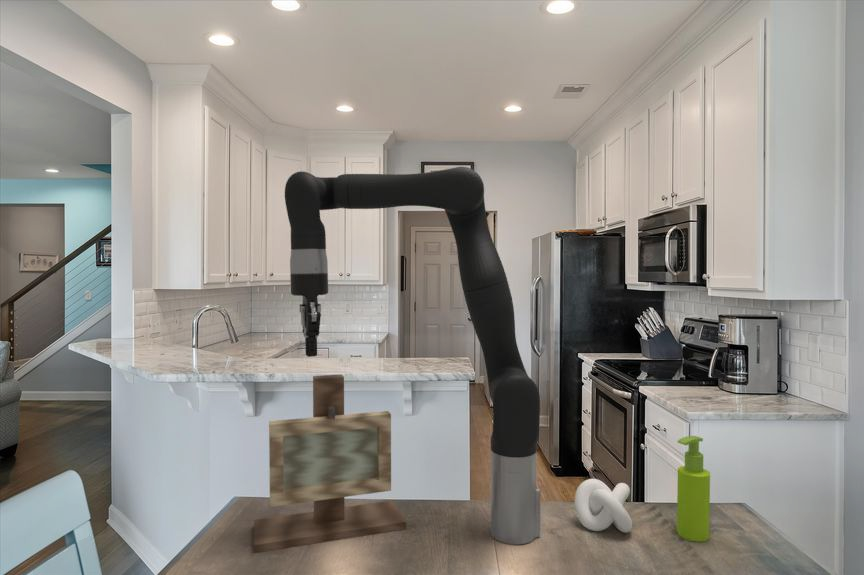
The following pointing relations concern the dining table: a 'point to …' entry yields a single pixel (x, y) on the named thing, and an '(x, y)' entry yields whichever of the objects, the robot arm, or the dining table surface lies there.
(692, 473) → the soap dispenser
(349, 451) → the frame
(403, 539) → the dining table surface
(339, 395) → the stand
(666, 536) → the dining table surface
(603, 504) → the white decorative knot
